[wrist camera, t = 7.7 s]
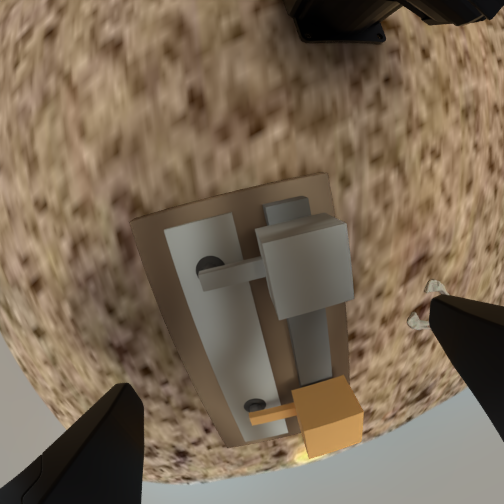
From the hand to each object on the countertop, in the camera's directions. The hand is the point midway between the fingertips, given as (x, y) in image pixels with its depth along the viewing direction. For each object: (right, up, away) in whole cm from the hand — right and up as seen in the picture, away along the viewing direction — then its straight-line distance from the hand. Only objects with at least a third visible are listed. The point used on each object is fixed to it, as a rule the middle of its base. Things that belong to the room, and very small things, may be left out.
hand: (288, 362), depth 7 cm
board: (0, -4, +13) cm, 14 cm away
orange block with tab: (+2, -9, +13) cm, 16 cm away
